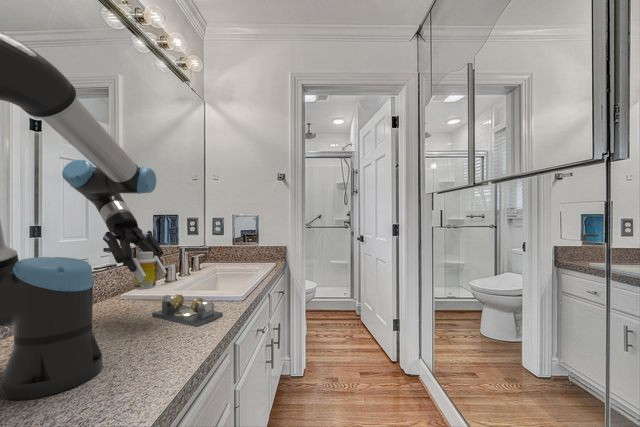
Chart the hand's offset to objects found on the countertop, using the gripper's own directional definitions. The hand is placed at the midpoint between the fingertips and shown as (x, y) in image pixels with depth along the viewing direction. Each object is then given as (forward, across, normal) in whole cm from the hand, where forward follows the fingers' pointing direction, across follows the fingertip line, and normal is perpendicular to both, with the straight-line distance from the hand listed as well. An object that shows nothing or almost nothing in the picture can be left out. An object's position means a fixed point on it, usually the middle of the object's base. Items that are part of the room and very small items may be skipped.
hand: (153, 277), depth 85 cm
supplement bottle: (0, 0, -5) cm, 5 cm away
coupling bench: (+10, -12, -11) cm, 19 cm away
